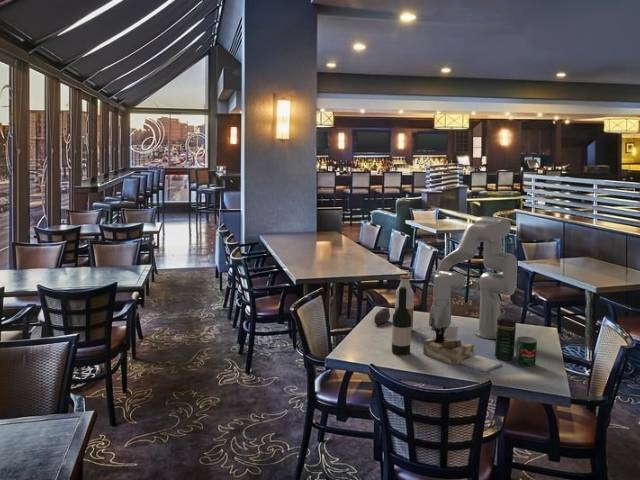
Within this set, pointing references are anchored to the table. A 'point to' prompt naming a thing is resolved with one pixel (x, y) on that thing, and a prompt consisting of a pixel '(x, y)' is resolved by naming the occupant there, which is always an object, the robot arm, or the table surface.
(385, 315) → the perforated stone tool
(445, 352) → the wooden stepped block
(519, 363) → the canned tomato
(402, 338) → the wine bottle
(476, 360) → the ceramic coaster
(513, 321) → the coffee jar
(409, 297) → the fruit juice
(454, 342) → the wooden block
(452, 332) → the white cup
